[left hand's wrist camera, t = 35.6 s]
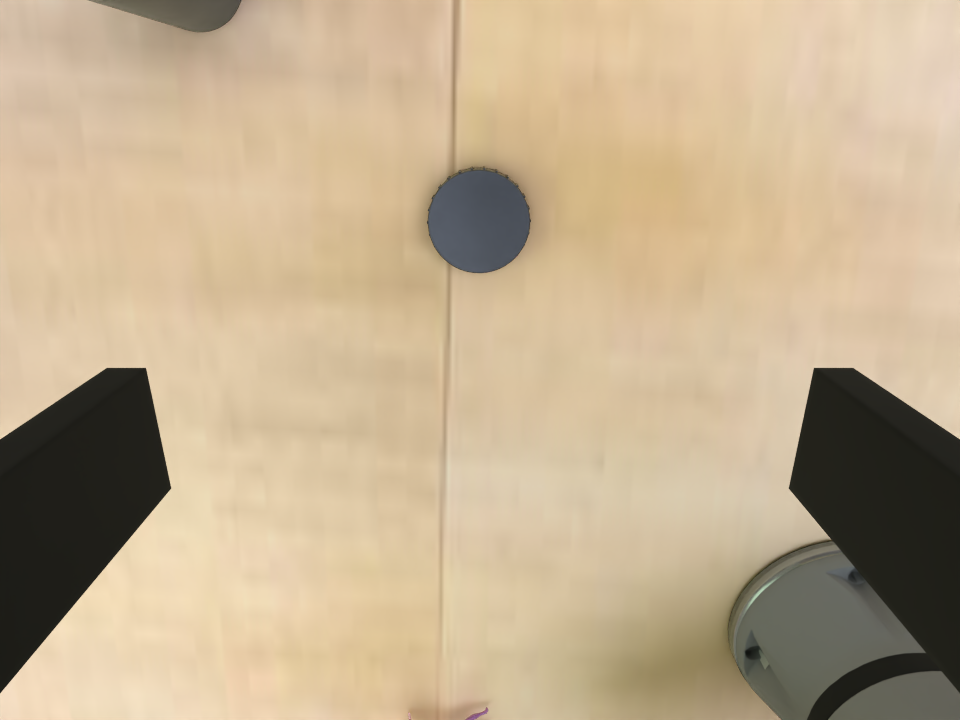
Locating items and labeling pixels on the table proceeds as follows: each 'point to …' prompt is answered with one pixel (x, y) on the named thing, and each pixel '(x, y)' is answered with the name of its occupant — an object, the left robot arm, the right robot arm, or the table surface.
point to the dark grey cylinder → (180, 11)
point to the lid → (478, 220)
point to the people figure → (474, 716)
